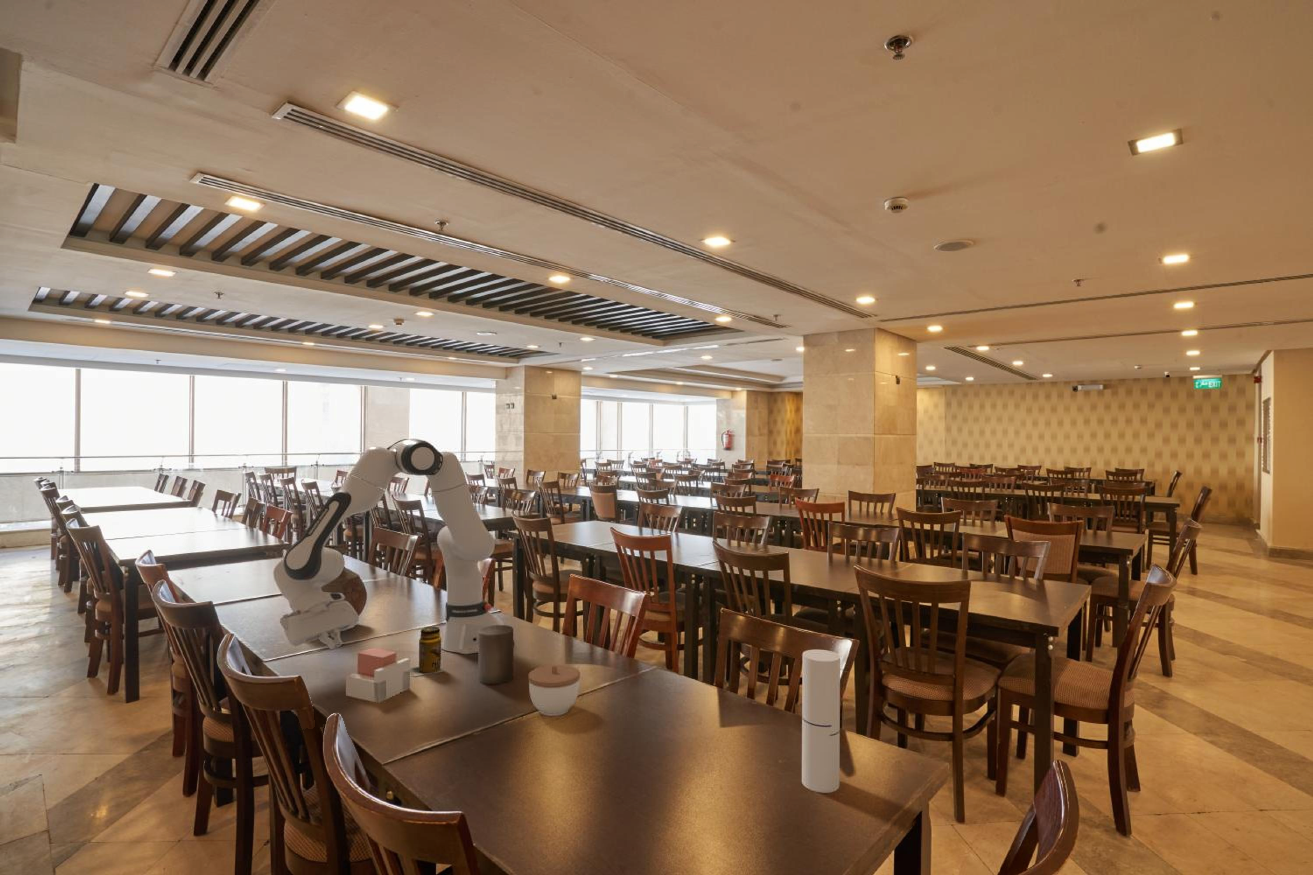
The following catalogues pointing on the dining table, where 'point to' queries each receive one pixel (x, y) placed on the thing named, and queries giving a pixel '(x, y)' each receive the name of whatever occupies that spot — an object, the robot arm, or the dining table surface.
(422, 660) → the condiment
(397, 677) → the dock
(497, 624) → the robot arm
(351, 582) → the jug
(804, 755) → the cylindrical container
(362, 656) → the plug
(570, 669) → the white lidded jar
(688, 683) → the dining table surface
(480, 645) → the pillar candle
